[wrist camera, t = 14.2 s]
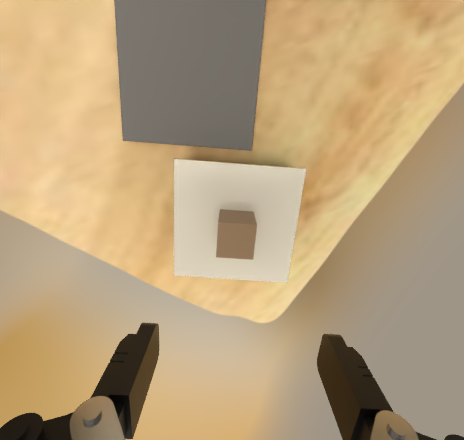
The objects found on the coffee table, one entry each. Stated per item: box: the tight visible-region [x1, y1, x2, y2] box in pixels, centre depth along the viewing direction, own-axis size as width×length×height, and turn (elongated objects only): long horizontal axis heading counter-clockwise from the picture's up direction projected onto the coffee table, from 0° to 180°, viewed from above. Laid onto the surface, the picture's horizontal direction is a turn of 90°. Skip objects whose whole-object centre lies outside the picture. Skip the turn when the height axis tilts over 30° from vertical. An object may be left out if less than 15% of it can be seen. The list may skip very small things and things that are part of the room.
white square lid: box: [174, 158, 306, 283], centre depth 26 cm, size 13×13×5 cm
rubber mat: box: [114, 0, 266, 151], centre depth 28 cm, size 15×15×1 cm
